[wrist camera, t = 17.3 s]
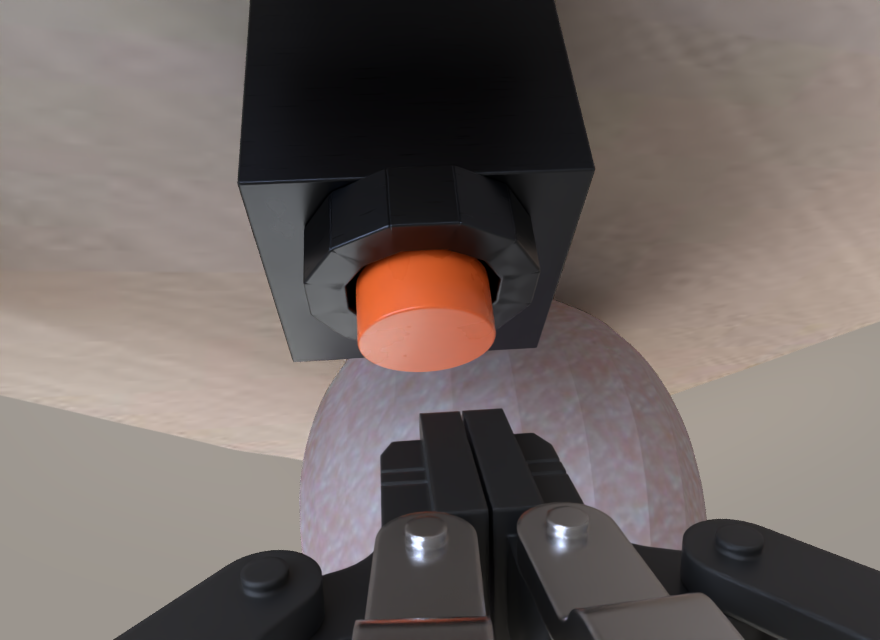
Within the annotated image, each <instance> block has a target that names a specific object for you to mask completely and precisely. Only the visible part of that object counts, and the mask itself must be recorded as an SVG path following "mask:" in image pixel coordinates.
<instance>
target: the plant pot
mask: <svg viewBox="0 0 880 640" xmlns="http://www.w3.org/2000/svg"><path fill="white" fill-rule="evenodd" d="M497 408H502V409H503V411H504V413H505V415H506V417H507V420H508V422H509V424H510V426H511V429H512V431H513V433H514V434H519V433H535V434H536V435H538V436H540V437H541V438H543V439H544V440H546V441H547V442H549V443H550V444H552V446H553V448H554V449H555V451H556V453H557V455H558V457H559V459H560V462H562V464H563V466H564V468H565V470H566V474H568V475H569V477H570V479H571V481H572V482H573V484H574V486H575V488H576V490H577V492H578V493H579V495H580V497H581V499H582V501H583V503H584V504H585V505H587V506H591V507H593V508H596V509H598V510H600V511H602V512H604V513H606V514H607V515H608V516H610V517H611V518H612V519H613V520H614V521H615V522H616V524H617V525H618V526H619V528H620V529H621V530H622V532H623V533H624V534H625V536H626V537H627V538H628V540H629V541H630V543H634V544H638V545H642V546H649V547H657V548H665V549H674V550H682V539H683V534H684V533H685V531H686V530H687V529H688V528H689V527H690V526H692V525H694V524H696V523H698V522H701V521H706V520H707V519H706V509H705V502H704V496H703V489H702V484H701V480H700V475H699V471H698V467H697V463H696V459H695V455H694V451H693V448H692V445H691V441H690V438H689V436H688V433H687V430H686V427H685V425H684V423H683V420H682V418H681V416H680V414H679V412H678V409H677V408H676V406H675V404H674V402H673V400H672V398H671V396H670V394H669V392H668V391H667V389H666V388H665V386H664V384H663V383H662V381H661V380H660V378H659V377H658V375H657V374H656V372H655V371H654V370H653V368H652V367H651V366H650V364H649V363H648V362H647V361H646V360H645V358H644V357H643V356H642V355H641V354H640V353H639V352H638V351H637V350H636V349H635V348H634V347H633V346H632V345H631V344H630V343H628V342H627V341H626V340H625V339H624V338H622V337H621V336H620V335H619V334H618V333H616V332H615V331H614V330H613V329H612V328H610V327H609V326H608V325H607V324H605V323H604V322H602V321H601V320H599V319H598V318H596V317H594V316H592V315H590V314H588V313H586V312H583V311H581V310H578V309H576V308H573V307H571V306H568V305H566V304H563V303H561V302H558V301H556V300H552V303H551V306H550V309H549V312H548V315H547V319H546V322H545V325H544V328H543V331H542V334H541V337H540V340H539V343H538V346H537V348H527V349H510V350H493V351H486V352H485V353H484V354H483V355H481V356H480V357H478V358H476V359H475V360H473V361H470V362H468V363H466V364H463V365H460V366H457V367H453V368H449V369H445V370H439V371H430V372H405V371H397V370H392V369H387V368H384V367H381V366H378V365H376V364H374V363H372V362H370V361H369V360H367V359H366V358H355V359H348V360H347V361H346V363H345V364H344V365H343V367H342V368H341V370H340V371H339V373H338V374H337V375H336V377H335V378H334V380H333V381H332V383H331V384H330V386H329V388H328V389H327V391H326V393H325V395H324V397H323V399H322V401H321V403H320V405H319V408H318V410H317V412H316V415H315V418H314V421H313V424H312V427H311V430H310V433H309V437H308V441H307V445H306V449H305V454H304V459H303V465H302V472H301V481H300V531H301V544H302V553H303V554H305V555H307V556H309V557H311V558H312V559H314V560H315V561H316V562H317V563H318V565H319V566H320V568H321V571H322V575H325V574H328V573H332V572H335V571H339V570H342V569H345V568H348V567H350V566H352V565H355V564H357V563H358V562H360V561H362V560H364V559H365V558H366V557H368V556H369V555H370V554H371V553H372V552H373V551H374V544H375V538H376V535H377V533H378V531H379V530H380V529H381V476H380V474H381V472H380V455H381V454H382V453H383V452H384V450H385V449H386V448H387V447H388V446H389V444H390V443H391V442H394V441H410V440H420V431H419V413H432V412H449V411H460V414H462V411H464V410H480V409H497Z"/></svg>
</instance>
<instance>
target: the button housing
mask: <svg viewBox="0 0 880 640" xmlns="http://www.w3.org/2000/svg"><path fill="white" fill-rule="evenodd" d="M594 171H595V166H594V162H593V158H592V154H591V150H590V146H589V142H588V138H587V133H586V129H585V125H584V121H583V117H582V113H581V109H580V105H579V101H578V97H577V92H576V88H575V84H574V80H573V76H572V72H571V68H570V64H569V60H568V56H567V51H566V47H565V43H564V39H563V35H562V31H561V27H560V23H559V19H558V15H557V10H556V6H555V2H554V0H250V8H249V22H248V37H247V51H246V66H245V80H244V95H243V109H242V124H241V138H240V153H239V167H238V182H237V184H238V187H239V190H240V193H241V197H242V200H243V203H244V206H245V209H246V213H247V216H248V219H249V222H250V225H251V229H252V232H253V235H254V238H255V241H256V245H257V248H258V251H259V254H260V257H261V261H262V264H263V267H264V270H265V273H266V277H267V280H268V283H269V286H270V289H271V293H272V296H273V299H274V302H275V305H276V308H277V312H278V315H279V318H280V321H281V324H282V328H283V331H284V334H285V337H286V340H287V344H288V347H289V350H290V353H291V356H292V360H293V362H303V361H320V360H338V359H355V358H365V357H364V356H363V355H362V353H361V352H360V350H359V348H358V342H357V310H356V282H357V278H358V276H359V274H360V273H361V271H362V270H363V269H364V268H365V267H366V266H367V265H368V264H370V263H373V262H375V261H378V260H381V259H383V258H386V257H388V256H391V255H394V254H396V253H399V252H402V251H421V250H442V249H447V250H450V251H453V252H457V253H460V254H464V255H467V256H470V257H474V258H477V259H478V260H479V261H480V262H481V263H482V264H483V266H484V267H485V269H486V271H487V273H488V279H489V286H490V293H491V301H492V308H493V315H494V322H495V330H496V337H495V340H494V343H493V344H492V346H491V347H490V348H489V349H488V351H493V350H510V349H527V348H537V346H538V343H539V340H540V337H541V334H542V331H543V328H544V325H545V322H546V319H547V315H548V312H549V309H550V306H551V303H552V300H553V297H554V294H555V291H556V288H557V285H558V282H559V279H560V276H561V273H562V270H563V266H564V263H565V260H566V257H567V254H568V251H569V248H570V245H571V242H572V239H573V236H574V233H575V230H576V227H577V224H578V220H579V217H580V214H581V211H582V208H583V205H584V202H585V199H586V196H587V193H588V190H589V187H590V184H591V181H592V178H593V175H594Z"/></svg>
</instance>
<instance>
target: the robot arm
mask: <svg viewBox="0 0 880 640" xmlns="http://www.w3.org/2000/svg"><path fill="white" fill-rule="evenodd" d="M419 431H420V440H410V441H394V442H391V443H390V444H389V446H388V447H387V448H386V449H385V450H384V452H383V453H382V454H381V455H380V472H381V474H380V476H381V529H380V530H379V531H378V533H377V535H376V538H375V544H374V551H373V552H372V553H371V554H370V555H369V556H368V557H366V558H365V559H364V560H362V561H360V562H358V563H357V564H355V565H352V566H350V567H348V568H345V569H342V570H339V571H335V572H332V573H328V574H325V575H322V571H321V568H320V566H319V565H318V563H317V562H316V561H315V560H314V559H312V558H311V557H309V556H307V555H305V554H302V553H298V552H294V551H288V550H271V551H264V552H259V553H255V554H251V555H248V556H245V557H242V558H241V559H238V560H236V561H234V562H232V563H230V564H229V565H227V566H225V567H224V568H222V569H221V570H219V571H218V572H216V573H215V574H213V575H212V576H210V577H209V578H207V579H206V580H204V581H203V582H201V583H200V584H198V585H196V586H195V587H193V588H192V589H190V590H189V591H187V592H186V593H184V594H183V595H181V596H180V597H178V598H177V599H175V600H173V601H172V602H170V603H169V604H167V605H166V606H164V607H163V608H161V609H160V610H158V611H157V612H155V613H154V614H152V615H150V616H149V617H148V618H146V619H144V620H143V621H141V622H140V623H138V624H137V625H135V626H134V627H132V628H131V629H129V630H127V631H126V632H125V633H123V634H121V635H120V636H118V637H117V638H115V639H114V640H880V571H878V570H875V569H872V568H870V567H867V566H865V565H862V564H859V563H856V562H854V561H851V560H849V559H846V558H843V557H841V556H838V555H836V554H833V553H830V552H827V551H825V550H823V549H820V548H817V547H814V546H812V545H809V544H807V543H804V542H801V541H799V540H796V539H794V538H791V537H788V536H786V535H783V534H780V533H778V532H775V531H772V530H770V529H767V528H765V527H762V526H759V525H756V524H753V523H748V522H745V521H739V520H730V519H712V520H706V521H701V522H698V523H696V524H694V525H692V526H690V527H689V528H688V529H687V530H686V531H685V533H684V534H683V539H682V550H674V549H665V548H657V547H649V546H642V545H638V544H634V543H630V541H629V540H628V538H627V537H626V536H625V534H624V533H623V532H622V530H621V529H620V528H619V526H618V525H617V524H616V522H615V521H614V520H613V519H612V518H611V517H610V516H608V515H607V514H606V513H604V512H602V511H600V510H598V509H596V508H593V507H591V506H587V505H585V504H584V503H583V501H582V499H581V497H580V495H579V493H578V492H577V490H576V488H575V486H574V484H573V482H572V481H571V479H570V477H569V475H568V474H566V470H565V468H564V466H563V464H562V462H560V459H559V457H558V455H557V453H556V451H555V449H554V448H553V446H552V444H550V443H549V442H547V441H546V440H544V439H543V438H541V437H540V436H538V435H536V434H535V433H519V434H514V433H513V431H512V429H511V426H510V424H509V422H508V420H507V417H506V415H505V413H504V411H503V409H502V408H497V409H480V410H464V411H462V414H460V411H449V412H432V413H419Z"/></svg>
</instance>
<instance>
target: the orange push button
mask: <svg viewBox="0 0 880 640" xmlns="http://www.w3.org/2000/svg"><path fill="white" fill-rule="evenodd" d="M356 310H357V342H358V348H359V350H360V352H361V353H362V355H363V356H364V357H365V358H366V359H367V360H369V361H370V362H372V363H374V364H376V365H378V366H381V367H384V368H387V369H392V370H397V371H405V372H430V371H439V370H445V369H449V368H453V367H457V366H460V365H463V364H466V363H468V362H470V361H473V360H475V359H476V358H478V357H480V356H481V355H483V354H484V353H485V352H486V351H488V349H489V348H490V347H491V346H492V344H493V343H494V340H495V337H496V330H495V322H494V315H493V308H492V301H491V293H490V286H489V279H488V273H487V271H486V269H485V267H484V266H483V264H482V263H481V262H480V261H479V260H478V259H477V258H474V257H470V256H467V255H464V254H460V253H457V252H453V251H450V250H447V249H442V250H421V251H402V252H399V253H396V254H394V255H391V256H388V257H386V258H383V259H381V260H378V261H375V262H373V263H370V264H368V265H367V266H366V267H365V268H364V269H363V270H362V271H361V273H360V274H359V276H358V278H357V282H356Z"/></svg>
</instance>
